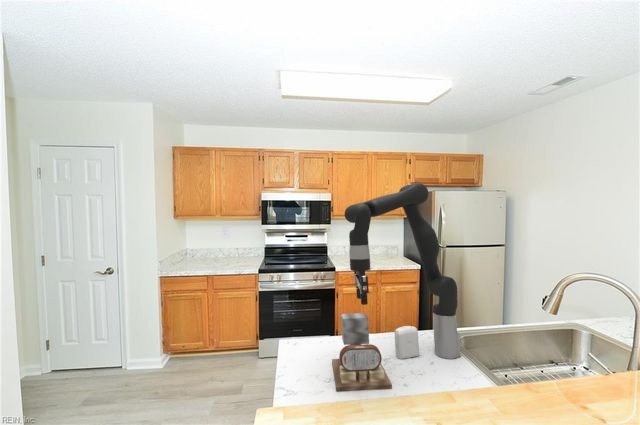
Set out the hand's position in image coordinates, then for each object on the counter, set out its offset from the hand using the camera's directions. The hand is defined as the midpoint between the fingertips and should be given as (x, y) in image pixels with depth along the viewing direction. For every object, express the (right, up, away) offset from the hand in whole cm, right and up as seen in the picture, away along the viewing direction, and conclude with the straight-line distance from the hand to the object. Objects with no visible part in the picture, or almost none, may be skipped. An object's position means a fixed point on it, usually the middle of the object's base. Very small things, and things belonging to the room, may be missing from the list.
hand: (361, 301), depth 101 cm
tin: (-1, -24, -3) cm, 24 cm away
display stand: (-1, -28, +2) cm, 28 cm away
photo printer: (+22, -29, +15) cm, 39 cm away
